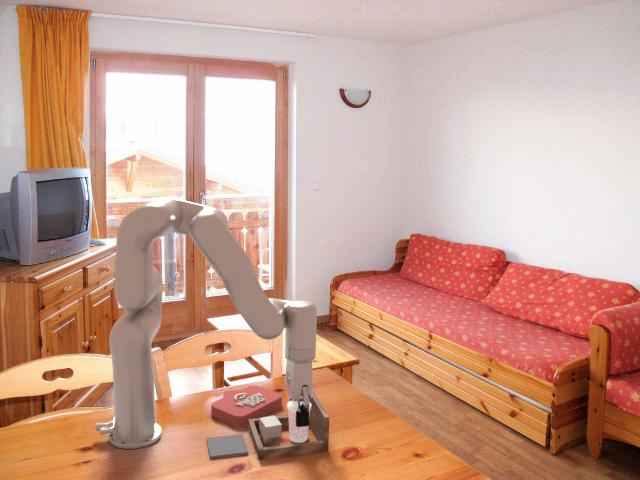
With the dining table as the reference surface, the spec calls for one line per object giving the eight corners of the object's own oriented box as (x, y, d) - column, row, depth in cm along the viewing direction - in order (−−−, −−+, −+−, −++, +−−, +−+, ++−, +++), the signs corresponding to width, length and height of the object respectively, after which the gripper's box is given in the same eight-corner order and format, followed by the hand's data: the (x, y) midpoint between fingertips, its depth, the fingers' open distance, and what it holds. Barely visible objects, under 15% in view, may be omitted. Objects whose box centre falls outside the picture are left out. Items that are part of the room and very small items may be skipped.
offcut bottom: (263, 450, 147) (264, 439, 146) (260, 438, 153) (260, 427, 152) (280, 449, 148) (280, 437, 147) (275, 437, 154) (275, 426, 153)
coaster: (210, 458, 142) (210, 456, 142) (206, 440, 151) (206, 437, 151) (248, 454, 145) (248, 452, 145) (242, 436, 153) (242, 433, 153)
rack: (258, 459, 142) (259, 424, 141) (248, 427, 158) (248, 395, 156) (328, 451, 147) (329, 416, 145) (311, 421, 162) (312, 389, 161)
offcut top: (265, 438, 147) (266, 427, 146) (259, 429, 151) (259, 417, 151) (281, 436, 148) (281, 424, 148) (274, 426, 153) (274, 415, 152)
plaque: (246, 379, 180) (285, 393, 171) (246, 391, 180) (284, 406, 172) (200, 399, 166) (240, 416, 157) (200, 412, 166) (240, 429, 158)
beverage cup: (296, 429, 157) (297, 378, 155) (315, 437, 154) (316, 384, 151) (281, 438, 152) (282, 386, 150) (300, 446, 149) (302, 393, 146)
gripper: (278, 340, 156) (277, 406, 159) (293, 365, 140) (292, 438, 143) (306, 338, 158) (305, 403, 161) (324, 363, 142) (322, 434, 145)
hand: (298, 419), depth 152 cm, fingers closed on beverage cup, 6 cm apart
